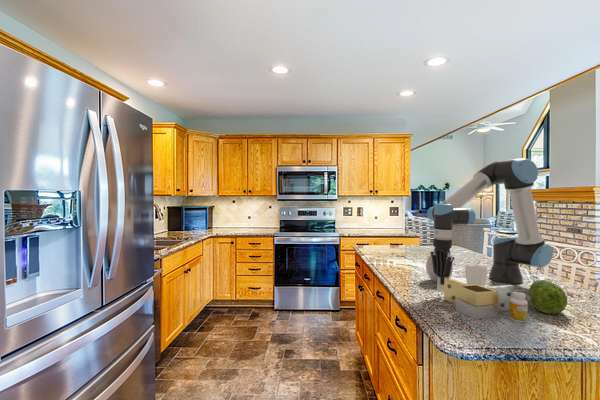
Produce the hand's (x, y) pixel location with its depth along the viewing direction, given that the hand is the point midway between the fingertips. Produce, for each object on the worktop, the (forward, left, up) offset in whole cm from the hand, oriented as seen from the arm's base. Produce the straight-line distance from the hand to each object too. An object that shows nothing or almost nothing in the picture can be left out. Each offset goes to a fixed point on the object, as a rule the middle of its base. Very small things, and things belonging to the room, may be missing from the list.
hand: (440, 291), depth 139 cm
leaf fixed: (-6, +20, -3) cm, 21 cm away
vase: (-16, -21, -3) cm, 27 cm away
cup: (-22, -3, -3) cm, 22 cm away
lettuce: (-32, +22, -3) cm, 39 cm away
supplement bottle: (-10, +29, -3) cm, 31 cm away
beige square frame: (0, +14, -3) cm, 14 cm away
